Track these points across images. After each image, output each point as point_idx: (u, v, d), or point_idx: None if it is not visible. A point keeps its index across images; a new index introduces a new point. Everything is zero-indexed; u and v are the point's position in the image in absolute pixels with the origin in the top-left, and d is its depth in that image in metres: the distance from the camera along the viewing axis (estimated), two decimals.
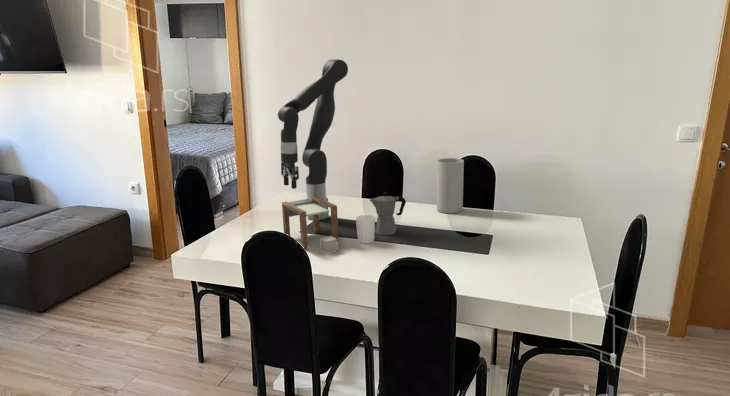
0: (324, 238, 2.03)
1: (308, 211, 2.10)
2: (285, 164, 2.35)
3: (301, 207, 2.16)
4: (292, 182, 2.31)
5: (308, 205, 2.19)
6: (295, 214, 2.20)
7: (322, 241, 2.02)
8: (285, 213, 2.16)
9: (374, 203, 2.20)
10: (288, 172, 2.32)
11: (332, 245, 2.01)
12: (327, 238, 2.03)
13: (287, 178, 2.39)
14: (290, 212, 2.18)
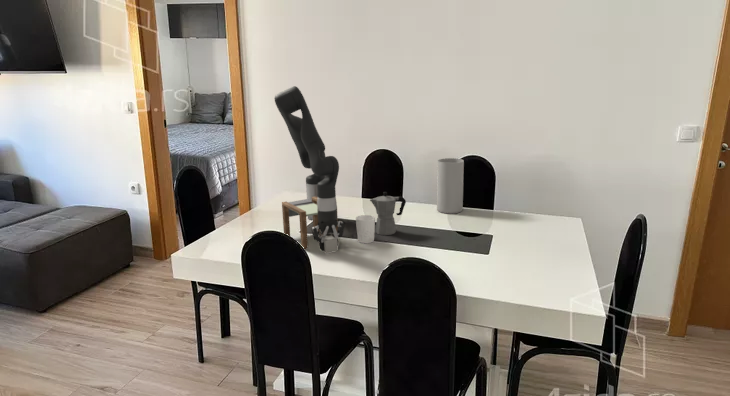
0: None
1: (308, 211, 2.10)
2: (324, 224, 1.99)
3: (301, 207, 2.16)
4: None
5: (308, 205, 2.19)
6: (295, 214, 2.20)
7: None
8: (285, 213, 2.16)
9: (374, 203, 2.20)
10: (334, 230, 2.01)
11: (332, 245, 2.01)
12: (327, 238, 2.03)
13: None
14: (290, 212, 2.18)
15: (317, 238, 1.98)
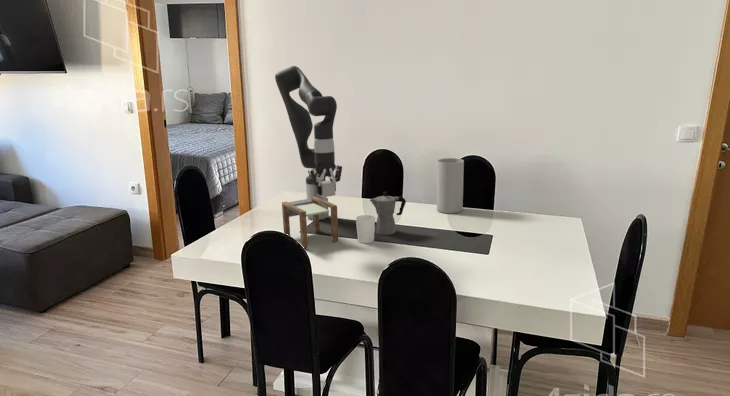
0: None
1: (308, 211, 2.10)
2: (321, 167, 1.94)
3: (301, 207, 2.16)
4: None
5: (308, 205, 2.19)
6: (295, 214, 2.20)
7: None
8: (285, 213, 2.16)
9: (374, 203, 2.20)
10: (332, 174, 1.96)
11: (330, 189, 1.96)
12: (324, 182, 1.97)
13: None
14: (290, 212, 2.18)
15: (314, 181, 1.93)
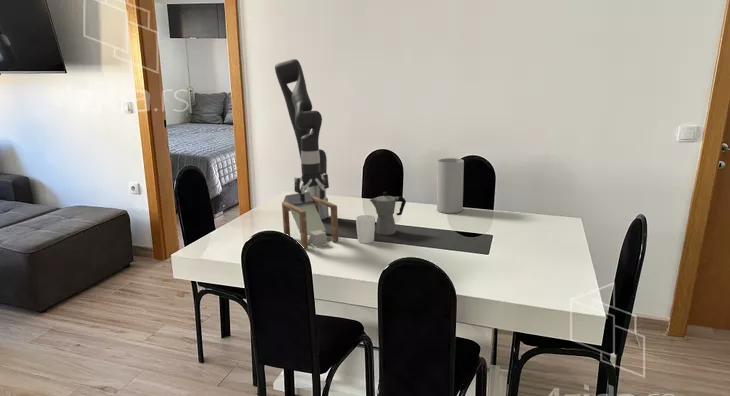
0: (317, 238, 2.08)
1: None
2: (308, 177, 2.05)
3: None
4: (323, 192, 2.10)
5: (308, 208, 2.19)
6: None
7: (314, 239, 2.08)
8: (285, 213, 2.16)
9: (374, 203, 2.20)
10: (319, 183, 2.08)
11: None
12: (320, 238, 2.09)
13: None
14: (289, 209, 2.19)
15: (298, 189, 2.04)
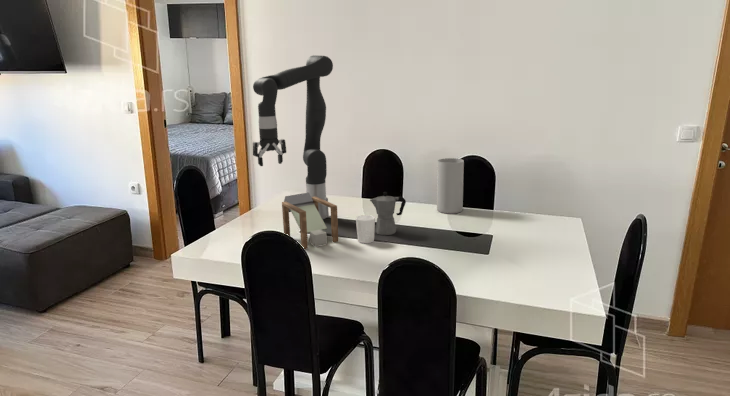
0: (318, 238, 2.08)
1: (307, 225, 2.13)
2: (265, 141, 2.16)
3: None
4: (281, 156, 2.22)
5: (308, 208, 2.19)
6: None
7: (314, 239, 2.08)
8: (285, 213, 2.16)
9: (374, 203, 2.20)
10: (276, 147, 2.19)
11: None
12: (320, 239, 2.08)
13: None
14: (289, 209, 2.19)
15: (256, 153, 2.15)
